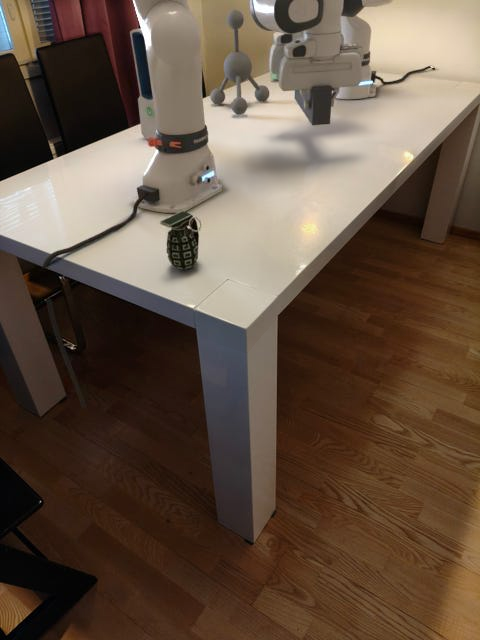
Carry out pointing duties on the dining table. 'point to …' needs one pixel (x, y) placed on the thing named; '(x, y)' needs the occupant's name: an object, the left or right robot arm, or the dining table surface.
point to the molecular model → (238, 71)
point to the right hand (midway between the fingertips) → (304, 88)
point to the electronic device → (144, 85)
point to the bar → (317, 104)
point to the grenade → (182, 240)
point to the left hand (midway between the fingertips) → (318, 107)
